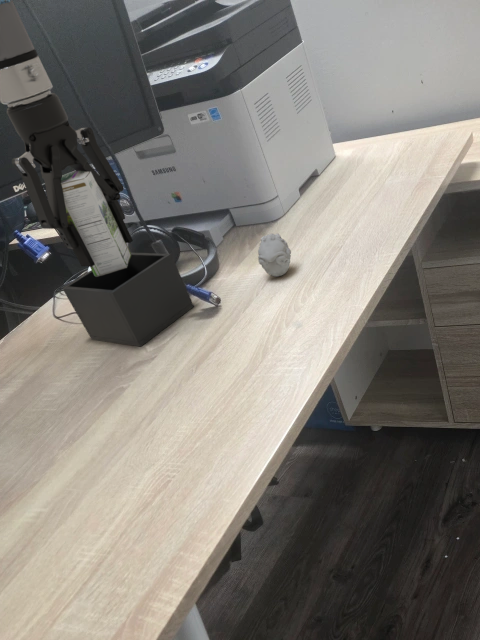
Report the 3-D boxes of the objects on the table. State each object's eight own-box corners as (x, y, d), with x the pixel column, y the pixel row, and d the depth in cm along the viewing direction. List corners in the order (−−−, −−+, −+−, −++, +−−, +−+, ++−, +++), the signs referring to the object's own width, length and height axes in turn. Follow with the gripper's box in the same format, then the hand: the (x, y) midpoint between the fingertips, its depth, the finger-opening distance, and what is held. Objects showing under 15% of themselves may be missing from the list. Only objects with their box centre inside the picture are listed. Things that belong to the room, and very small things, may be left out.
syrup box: (100, 265, 112) (54, 176, 102) (133, 255, 112) (90, 166, 102) (95, 278, 108) (46, 187, 98) (129, 268, 107) (84, 176, 98)
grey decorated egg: (299, 263, 121) (288, 225, 116) (292, 280, 116) (279, 241, 111) (269, 268, 122) (256, 231, 118) (260, 285, 117) (247, 247, 113)
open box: (91, 339, 116) (61, 288, 110) (144, 301, 124) (120, 251, 117) (140, 346, 109) (112, 292, 103) (194, 306, 117) (171, 253, 110)
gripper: (-18, 121, 85) (73, 284, 101) (99, 74, 97) (165, 226, 112) (-47, 126, 89) (45, 282, 104) (69, 79, 101) (137, 226, 116)
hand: (107, 253), depth 108 cm, fingers closed on syrup box, 8 cm apart
